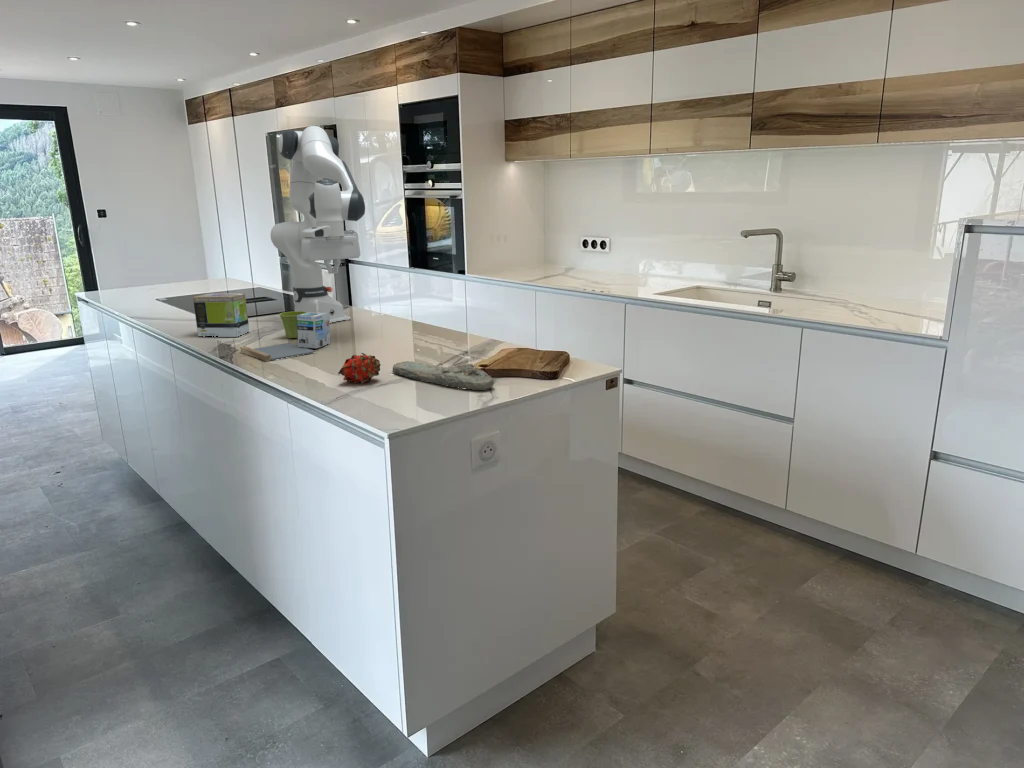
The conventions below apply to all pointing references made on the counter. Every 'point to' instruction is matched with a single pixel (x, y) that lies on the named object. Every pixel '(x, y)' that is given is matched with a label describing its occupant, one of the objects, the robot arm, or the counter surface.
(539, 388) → the counter surface
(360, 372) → the dragon fruit
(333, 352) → the counter surface
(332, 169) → the robot arm
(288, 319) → the plant pot
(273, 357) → the mat
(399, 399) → the counter surface
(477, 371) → the elongated rock
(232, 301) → the tea box
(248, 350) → the strip
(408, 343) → the counter surface
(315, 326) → the light bulb box
